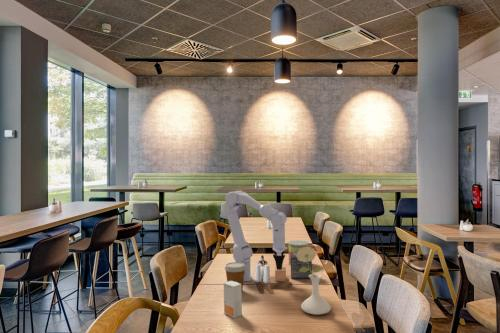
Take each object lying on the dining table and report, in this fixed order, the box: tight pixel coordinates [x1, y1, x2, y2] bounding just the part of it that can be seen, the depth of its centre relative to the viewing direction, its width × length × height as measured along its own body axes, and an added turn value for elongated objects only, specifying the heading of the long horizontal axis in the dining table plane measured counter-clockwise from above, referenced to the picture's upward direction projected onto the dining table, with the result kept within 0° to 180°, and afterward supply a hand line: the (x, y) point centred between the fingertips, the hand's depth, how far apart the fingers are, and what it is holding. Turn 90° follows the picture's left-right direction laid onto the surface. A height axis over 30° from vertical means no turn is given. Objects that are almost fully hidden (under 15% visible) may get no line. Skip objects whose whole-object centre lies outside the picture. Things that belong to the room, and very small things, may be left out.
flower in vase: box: [296, 246, 332, 315], centre depth 139 cm, size 13×11×25 cm
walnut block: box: [269, 276, 290, 289], centre depth 170 cm, size 9×9×3 cm
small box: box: [290, 255, 313, 280], centre depth 181 cm, size 11×6×10 cm, turn 84°
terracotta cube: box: [274, 266, 287, 281], centre depth 170 cm, size 5×5×5 cm
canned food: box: [288, 240, 309, 266], centre depth 205 cm, size 11×11×12 cm
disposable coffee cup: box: [224, 261, 246, 291], centre depth 163 cm, size 10×10×12 cm
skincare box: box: [223, 281, 243, 319], centre depth 138 cm, size 6×4×12 cm
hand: (279, 267), depth 170 cm, fingers open, 7 cm apart
